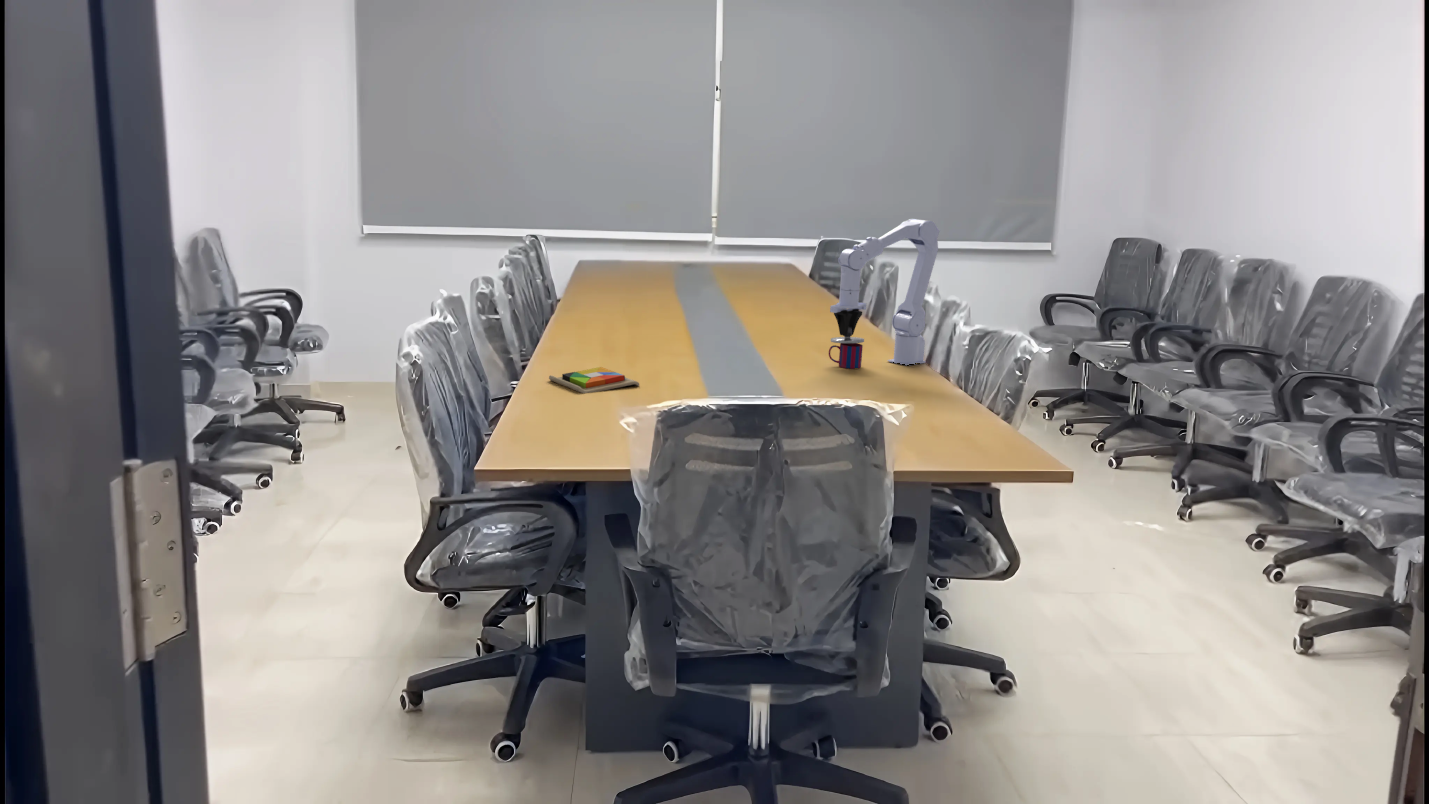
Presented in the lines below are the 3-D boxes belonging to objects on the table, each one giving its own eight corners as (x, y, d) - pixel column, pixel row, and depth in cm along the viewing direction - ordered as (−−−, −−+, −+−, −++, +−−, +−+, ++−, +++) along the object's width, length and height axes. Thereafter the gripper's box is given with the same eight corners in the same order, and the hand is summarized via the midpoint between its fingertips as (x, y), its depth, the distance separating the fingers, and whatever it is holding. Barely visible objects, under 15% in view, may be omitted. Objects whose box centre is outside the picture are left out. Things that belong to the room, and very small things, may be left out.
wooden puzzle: (546, 382, 291) (547, 369, 291) (607, 375, 303) (607, 363, 302) (579, 395, 278) (580, 382, 277) (641, 388, 289) (641, 375, 288)
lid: (844, 338, 333) (844, 324, 332) (870, 341, 326) (871, 326, 325) (823, 341, 326) (824, 327, 325) (850, 344, 319) (850, 329, 318)
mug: (861, 369, 324) (863, 347, 323) (827, 367, 325) (829, 345, 323) (860, 365, 331) (862, 343, 329) (827, 363, 331) (829, 341, 330)
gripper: (854, 286, 330) (851, 330, 333) (823, 289, 320) (820, 334, 323) (873, 289, 325) (869, 334, 328) (841, 292, 315) (838, 338, 319)
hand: (846, 334), depth 326 cm, fingers closed on lid, 2 cm apart
